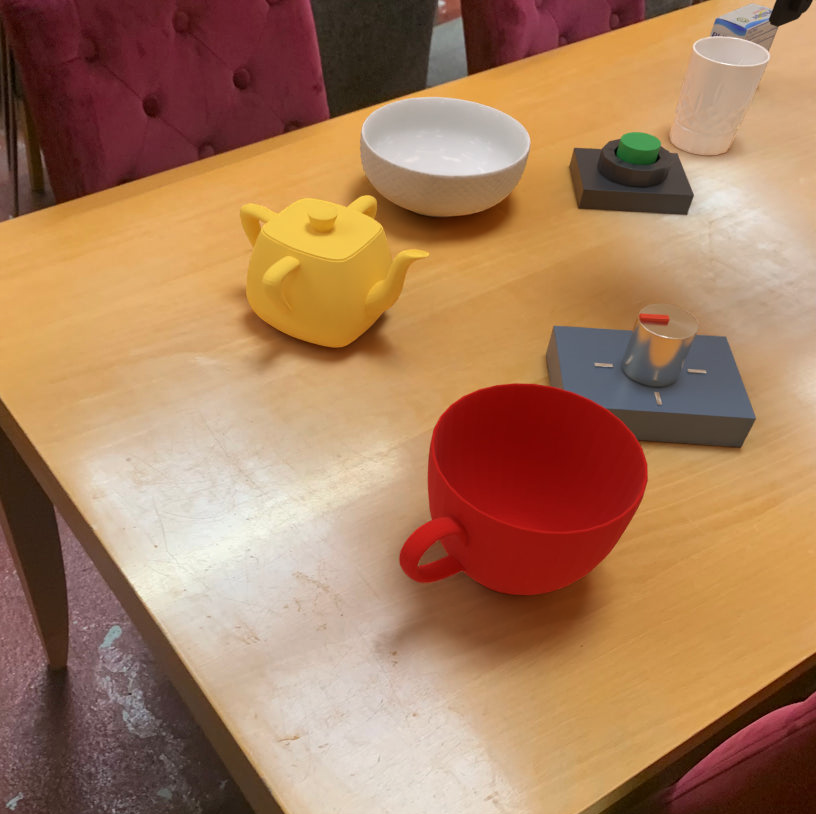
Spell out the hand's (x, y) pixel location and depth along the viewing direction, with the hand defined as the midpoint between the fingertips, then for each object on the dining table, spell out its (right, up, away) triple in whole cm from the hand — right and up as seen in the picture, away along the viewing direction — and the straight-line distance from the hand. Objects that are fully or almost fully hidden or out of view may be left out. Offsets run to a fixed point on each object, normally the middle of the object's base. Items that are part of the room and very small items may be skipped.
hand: (723, 0), depth 64 cm
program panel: (-3, -28, +8) cm, 29 cm away
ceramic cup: (-18, -41, -4) cm, 45 cm away
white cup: (+15, +5, +38) cm, 41 cm away
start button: (+4, 0, +28) cm, 28 cm away
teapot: (-28, -20, +15) cm, 38 cm away
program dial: (-3, -26, +6) cm, 26 cm away
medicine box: (+22, +16, +48) cm, 55 cm away
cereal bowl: (-16, -4, +29) cm, 33 cm away
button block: (+4, -3, +31) cm, 31 cm away
